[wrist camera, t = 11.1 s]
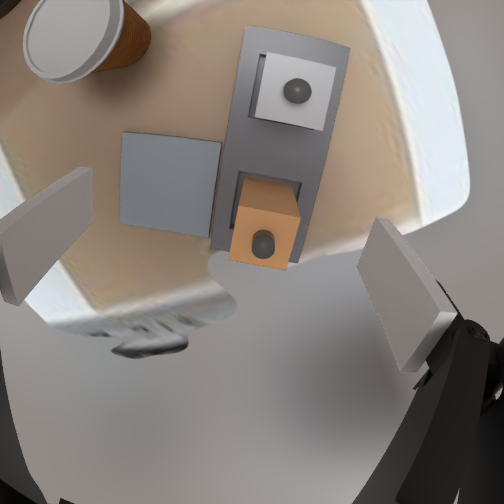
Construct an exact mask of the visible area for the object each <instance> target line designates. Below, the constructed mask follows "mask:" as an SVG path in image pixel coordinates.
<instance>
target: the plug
mask: <svg viewBox="0 0 504 504" xmlns="http://www.w3.org/2000/svg"><path fill="white" fill-rule="evenodd" d="M300 219H301V217H300V213H299V209H298V206H297V202H296V198H295V195H294V191H293V187H292V185H290V184H285V183H280V182H276V181H271V180H266V179H261V178H256V177H251V176H246V175H245V178H244V183H243V187H242V192H241V196H240V201H239V206H238V211H237V216H236V221H235V227H234V232H233V237H232V243H231V248H230V254H229V259H228V260H232V261H237V262H242V263H248V264H253V265H258V266H264V267H269V268H275V269H280V270H286V268H287V264H288V261H289V258H290V254H291V251H292V247H293V244H294V240H295V237H296V233H297V230H298V226H299V223H300Z"/></svg>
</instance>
